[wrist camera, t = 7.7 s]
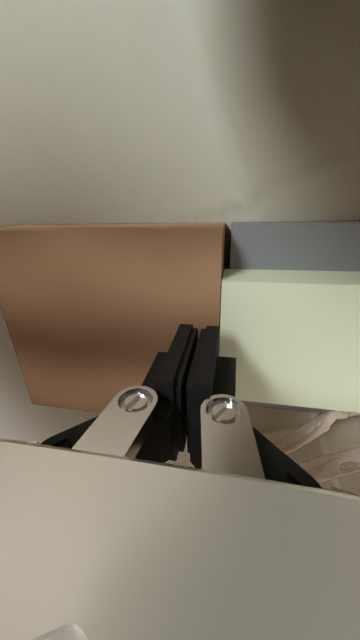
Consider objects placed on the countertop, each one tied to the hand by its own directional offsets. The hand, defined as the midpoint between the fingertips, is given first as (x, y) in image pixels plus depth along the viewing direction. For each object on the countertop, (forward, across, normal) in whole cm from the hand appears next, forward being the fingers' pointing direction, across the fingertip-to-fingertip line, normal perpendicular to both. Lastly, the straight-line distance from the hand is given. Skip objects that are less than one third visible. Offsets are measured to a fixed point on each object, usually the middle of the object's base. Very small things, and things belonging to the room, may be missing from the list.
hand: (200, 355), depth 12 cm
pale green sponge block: (+2, -5, 0) cm, 5 cm away
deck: (+4, +5, 0) cm, 6 cm away
